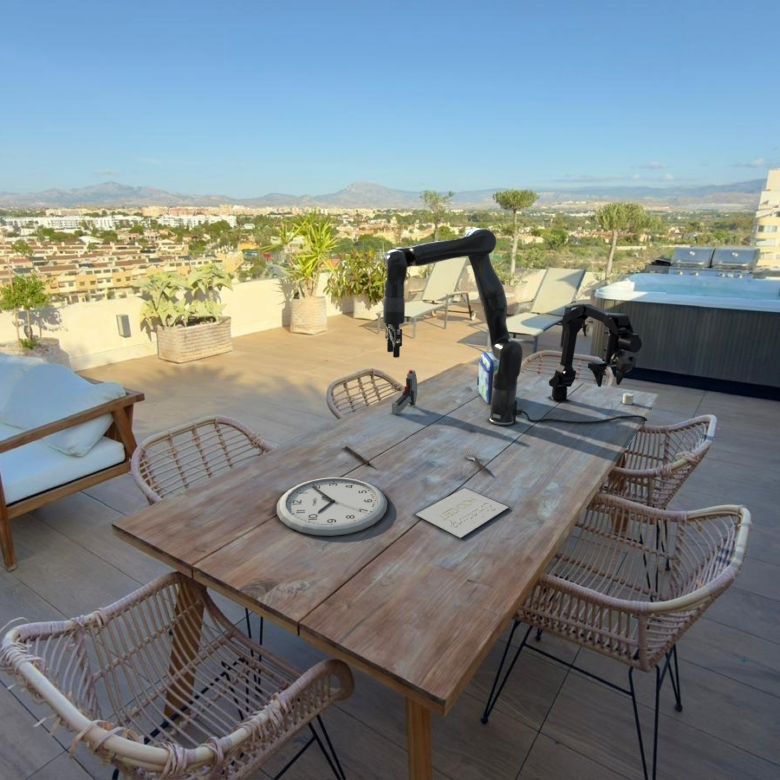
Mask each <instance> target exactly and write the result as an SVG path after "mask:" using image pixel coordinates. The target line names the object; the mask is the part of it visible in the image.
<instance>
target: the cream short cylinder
mask: <svg viewBox="0 0 780 780" xmlns="http://www.w3.org/2000/svg"><path fill="white" fill-rule="evenodd" d="M622 396H623V397H622V404H624V405H633V402H634V401H633V400H634V394H633V393H630V392H625V393H623V395H622Z"/></svg>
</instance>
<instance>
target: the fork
mask: <svg viewBox="0 0 780 780" xmlns="http://www.w3.org/2000/svg"><path fill="white" fill-rule="evenodd" d="M463 450H464V453H465V456H466V458H467V460H472V461H474V463H475V464H476V465H477V467H479V468H480V469H481V470H482V471H483V472H485V473H486V474H488V470H486V468H485V467H484V466H483V464H482V463H480V462H479V461H477V460H476V459H475V456H474V454H473V452H472V449H471V448H463Z"/></svg>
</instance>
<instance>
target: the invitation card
mask: <svg viewBox="0 0 780 780" xmlns="http://www.w3.org/2000/svg"><path fill="white" fill-rule="evenodd" d="M507 509H509V506H507V505H505V504H503V503H501V502H498V501H495V500H493V499H490V498H488V497H486V496H485V495H482V494H480V493H477V492H475V491H472V490H470V489H468V488H465V487H464V488H461V489H460V490H458V491H456V492H454V493H452V494H451V495H448V496H447V497H445V498H444V499H441V500H440V501H437V502H435V503H434V504H432V505H430V506H428V507H426V508H424V509H422V510H421V511H419V512H417V513H415V514H414V515H415V516H416V517H419V518H421V519H422V520H425V521H427V522H428V523H430V524H432V525H434V526H436V527H437V528H440V529H442V530H443V531H446V532H447V533H449V534H451V535H453V536H455V537H457V538H459V539H462V538H464V537H465V536H466V535H468V534H469V533H472V532H473V531H475V530H476V529H477V528H479V527H480V526H482V525H484V524H485V523H487V522H488V521H490V520H491V519H493V518H495V517H496V516H498V515H500V514H501V513H502V512H504V511H506V510H507Z"/></svg>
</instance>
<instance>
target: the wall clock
mask: <svg viewBox="0 0 780 780" xmlns="http://www.w3.org/2000/svg"><path fill="white" fill-rule="evenodd" d="M387 509H388V500H387V498H386V496H385V494H384V493H383V492H382V491H381V490H380V489H379V488H377V487H376V486H374V485H372V484H371V483H369V482H365V481H362V480H359V479H355V478H349V477H338V476H337V477H335V476H333V477H332V476H331V477H322V478H317V479H312V480H307V481H305V482H302V483H299V484H297V485H295V486H293V487H292V488H290V489H288V490H287V491H286V492H285V493H284V494H283V495H281V496H280V498H279V499H278V502H277V503H276V515H277V517H278V518H279V520H280V521H281V522H282V523H283V524H285V525H286V526H287V527H288V528H290V529H293V530H295V531H297V532H299V533H303V534H308V535H312V536H327V537H328V536H329V537H331V536H332V537H333V536H342V535H350V534H352V533H356V532H361V531H363V530H366V529H368V528H369V527H372V526H373V525H375V524H376V523H378V522H379V521H380V520H381V519H382V518H383V517H384V516H385V514H386V512H387Z"/></svg>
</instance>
